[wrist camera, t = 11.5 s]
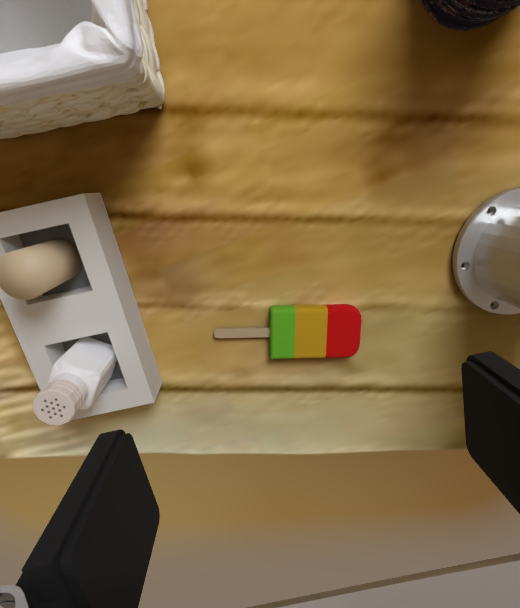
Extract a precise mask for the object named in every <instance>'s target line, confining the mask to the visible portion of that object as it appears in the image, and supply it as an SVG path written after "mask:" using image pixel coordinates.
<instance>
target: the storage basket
mask: <svg viewBox="0 0 520 608" xmlns="http://www.w3.org/2000/svg"><path fill="white" fill-rule="evenodd" d="M147 11H148V6H147V0H0V139H5V138H15V137H19V136H22V135H25V134H36V133H42V132H46V131H50V130H53V129H56V128H59V127H70V126H75V125H78V124H81V123H83V122H95V121H100V120H104V119H108V118H111V117H114V116H117V115H126V114H132V113H136V112H138V111H139V110H141V109H147V108H153V107H158V109H161V108H162V104H163V103H164V102H165V88H164V82H163V78H162V75H161V73H160V62H159V58H158V54H157V50H156V47H155V41H154V33H153V29H152V25H151V22H150V20H149V18H148V15H147Z"/></svg>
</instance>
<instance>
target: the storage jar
mask: <svg viewBox="0 0 520 608" xmlns="http://www.w3.org/2000/svg"><path fill="white" fill-rule="evenodd" d="M420 1H421V3H422V5H423V7H424V8H425V10H426V11H427V13H428V14H429V15H430V16H431V17H432V18H433V19H434V20H435V21H437V22H438V23H439V24H441V25H443V26H445V27H447V28H450V29H454V30H464V31H466V30H473V29H477V28H480V27H483V26H485V25H487V24H489V23H491V22H493V21H494V20H496V19H497V18H498V17H500V16H501V15H504V14H506V13H508V12H510V11H512V10H513V9H515V8H516V7H518V6H519V5H520V0H420Z"/></svg>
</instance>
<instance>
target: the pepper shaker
mask: <svg viewBox="0 0 520 608" xmlns="http://www.w3.org/2000/svg"><path fill="white" fill-rule="evenodd" d="M116 362H117V357H116V354H115V352H114V349H113V346H112V345H111V344H108V343H105V342H102V341H99V340H96V339H93V338H91V337H83V338H80V339H79V340H78V341H77V342H76V343H75V344H74V345H73V346H72V347H71V348H70V349H69V350H68V351H67V352H66V353H65V354H63V355H62V356H61V357H60V358H59V359H58V360H57V361H56V362H55V363H54V365H53V368H52V370H51V373H50V376H49V380H48V383H47V385H46V386H45V387H44V388H43V389H42V390H41V391H40V392H39V393H38V395H37V396H36V397H35V399H34V400H33V411H34V413H35V414H36V416H37V417H38V419H39V420H41V421H43V422H44V423H46V424H48V425H57V426H60V425H62V424H65V423H68V422H69V421H70V420H71V419H72V417H73V416H74V415H75V413H76V412H77V410H78V409H81V410H84V409H89V408H90V407H91V406H92V405H93V403H94V402H95V400H96V399H97V397H98V396H99V394H100V393H101V391H102V390H103V389H104V387H105V386H106V384H107V383H108V381H109V380H110V378H111V376H112V374H113V371H114V368H115V365H116Z"/></svg>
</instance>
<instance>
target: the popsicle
mask: <svg viewBox="0 0 520 608" xmlns="http://www.w3.org/2000/svg"><path fill="white" fill-rule="evenodd" d="M295 314H296V315H295ZM360 331H361V315H360V312H359V311H358V310H357V309H356V308H355V307H354V306H352V305H347V304H334V305H278V306H271V307H270V327H265V328H218V329H215V331H214V336H215V337H216V338H251V337H270V359H291V358H333V357H350V356H353V355H354V354H356V353H357V351H358V349H359V344H360Z"/></svg>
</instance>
